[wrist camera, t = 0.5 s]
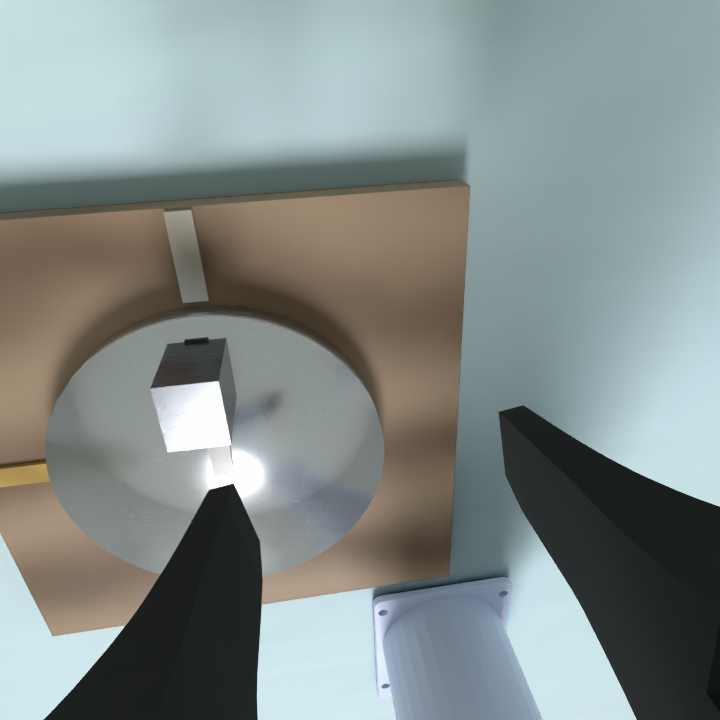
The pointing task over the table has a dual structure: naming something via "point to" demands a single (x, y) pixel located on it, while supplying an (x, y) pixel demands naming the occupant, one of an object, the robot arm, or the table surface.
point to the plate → (254, 291)
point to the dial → (215, 435)
